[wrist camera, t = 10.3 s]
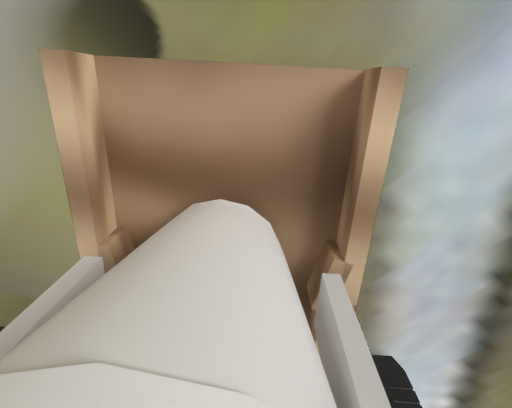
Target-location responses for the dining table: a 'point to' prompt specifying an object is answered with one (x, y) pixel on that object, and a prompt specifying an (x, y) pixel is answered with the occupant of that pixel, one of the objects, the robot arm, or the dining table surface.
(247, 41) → the dining table surface
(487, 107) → the dining table surface
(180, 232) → the foam cup
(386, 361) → the robot arm
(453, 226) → the dining table surface
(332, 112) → the track
